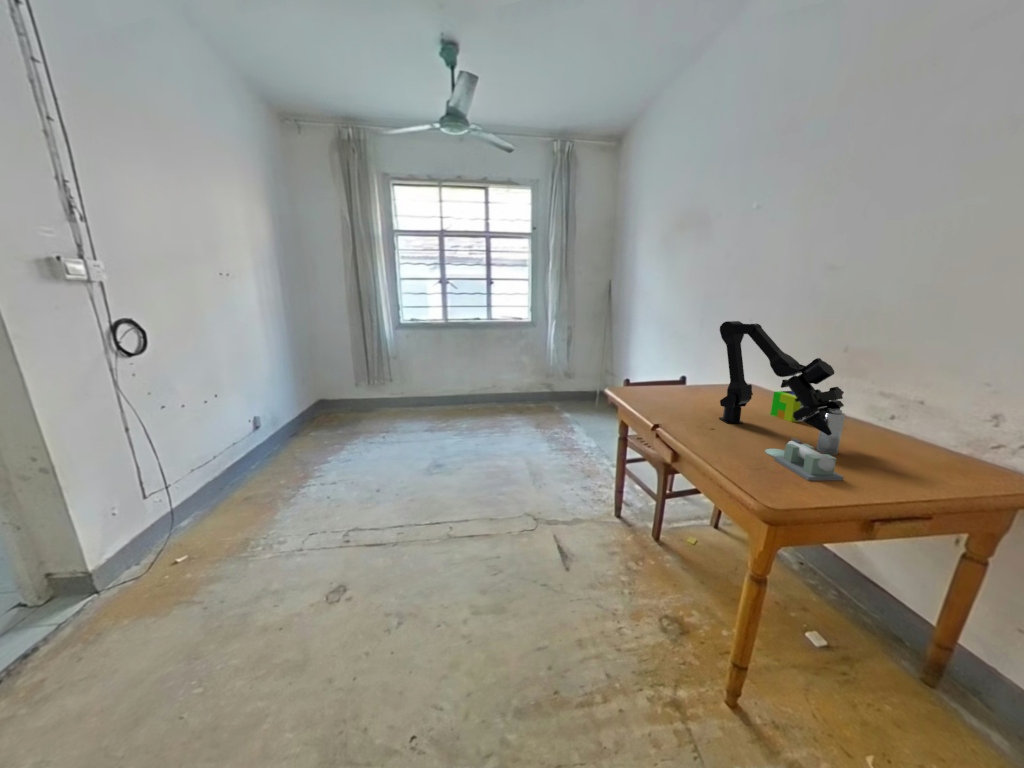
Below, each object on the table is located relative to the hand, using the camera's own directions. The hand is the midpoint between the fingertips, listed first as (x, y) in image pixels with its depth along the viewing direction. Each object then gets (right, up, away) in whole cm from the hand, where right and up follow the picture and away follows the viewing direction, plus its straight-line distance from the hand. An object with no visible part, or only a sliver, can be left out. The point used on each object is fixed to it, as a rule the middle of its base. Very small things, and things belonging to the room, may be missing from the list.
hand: (835, 433), depth 130 cm
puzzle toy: (+12, +2, +38) cm, 40 cm away
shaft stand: (-17, -9, -11) cm, 22 cm away
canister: (-1, -6, +3) cm, 7 cm away
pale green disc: (-18, -7, 0) cm, 19 cm away
